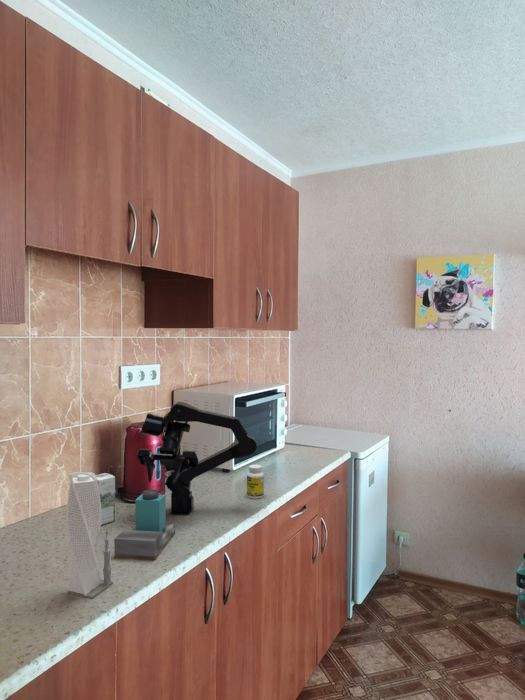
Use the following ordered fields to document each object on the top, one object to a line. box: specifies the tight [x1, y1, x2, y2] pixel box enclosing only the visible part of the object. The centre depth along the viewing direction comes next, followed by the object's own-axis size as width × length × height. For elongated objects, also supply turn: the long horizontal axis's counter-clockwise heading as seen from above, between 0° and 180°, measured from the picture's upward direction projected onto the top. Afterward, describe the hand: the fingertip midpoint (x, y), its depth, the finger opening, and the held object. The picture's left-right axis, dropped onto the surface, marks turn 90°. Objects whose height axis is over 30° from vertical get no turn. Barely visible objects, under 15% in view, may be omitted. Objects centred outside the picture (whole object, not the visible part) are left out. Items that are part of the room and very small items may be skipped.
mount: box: [113, 523, 176, 561], centre depth 136 cm, size 17×11×5 cm, turn 172°
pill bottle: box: [246, 464, 265, 500], centre depth 176 cm, size 6×6×11 cm
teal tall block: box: [134, 488, 167, 533], centre depth 139 cm, size 5×7×13 cm
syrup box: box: [95, 472, 116, 526], centre depth 152 cm, size 6×6×14 cm
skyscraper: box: [66, 471, 114, 600], centre depth 112 cm, size 8×8×28 cm
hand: (161, 482), depth 148 cm, fingers open, 7 cm apart
